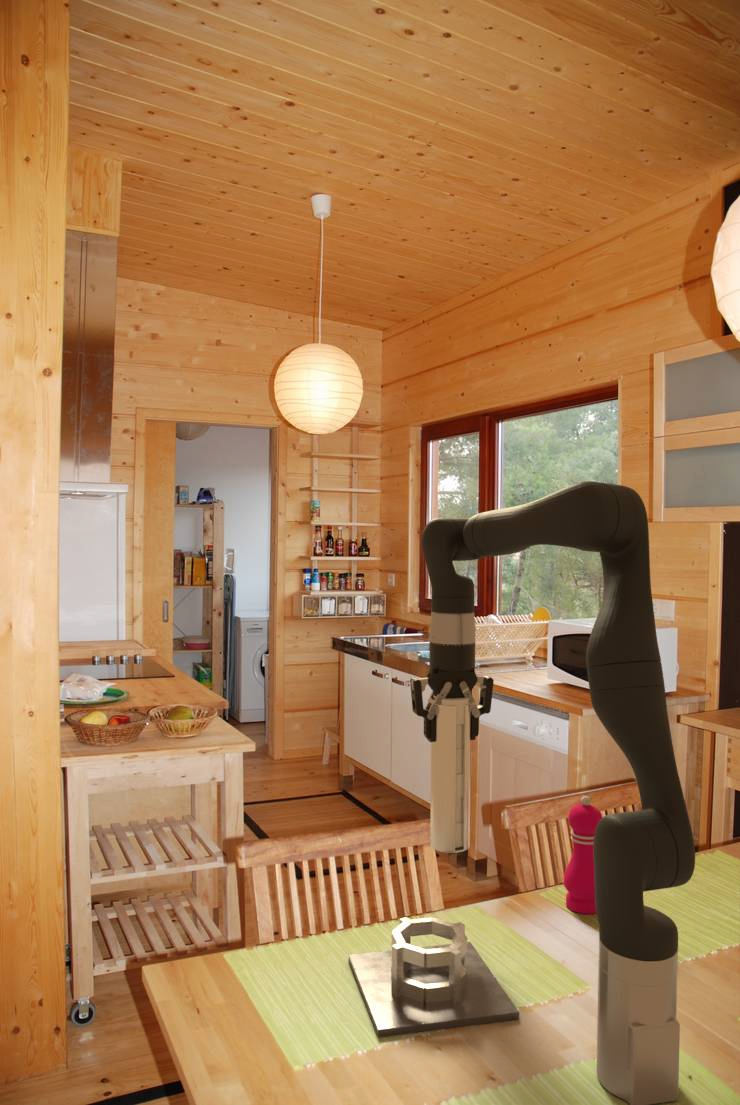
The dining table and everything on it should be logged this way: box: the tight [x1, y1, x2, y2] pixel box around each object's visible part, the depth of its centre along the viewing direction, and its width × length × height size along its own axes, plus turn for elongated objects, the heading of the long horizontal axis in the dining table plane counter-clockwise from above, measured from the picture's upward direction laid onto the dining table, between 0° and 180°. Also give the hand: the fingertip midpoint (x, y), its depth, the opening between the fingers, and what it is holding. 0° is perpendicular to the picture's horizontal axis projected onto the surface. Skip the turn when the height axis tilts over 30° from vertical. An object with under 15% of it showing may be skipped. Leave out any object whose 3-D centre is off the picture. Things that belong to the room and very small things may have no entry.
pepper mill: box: [563, 795, 603, 915], centre depth 151 cm, size 7×7×20 cm
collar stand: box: [348, 916, 520, 1038], centre depth 124 cm, size 20×20×8 cm
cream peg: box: [429, 696, 472, 854], centre depth 140 cm, size 6×6×25 cm
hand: (451, 739), depth 140 cm, fingers closed on cream peg, 6 cm apart
